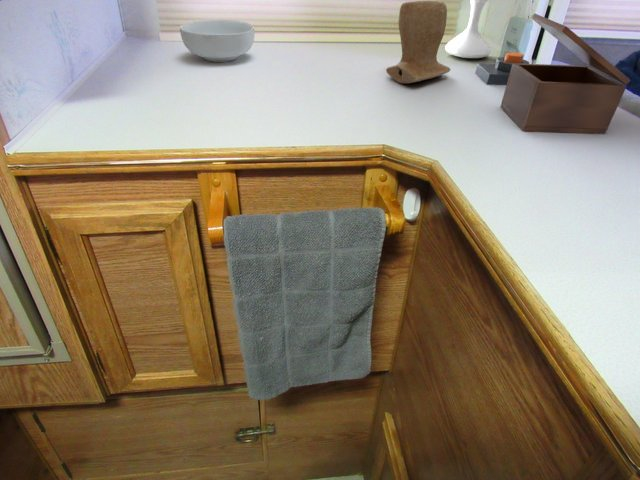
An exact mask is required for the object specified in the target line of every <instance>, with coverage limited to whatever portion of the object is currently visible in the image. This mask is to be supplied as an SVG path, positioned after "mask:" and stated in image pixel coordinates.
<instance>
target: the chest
mask: <svg viewBox="0 0 640 480" xmlns="http://www.w3.org/2000/svg"><path fill="white" fill-rule="evenodd" d="M627 87H628V85H627V84H624V83H622V82H620V81H618V80H616V79H614V78H612V77H610V76H609V75H607V74H605V73H603V72H601V71H599V70H597V69H595V68H593V67H591V66H589V65H574V64H573V65H571V64H546V63H545V64H541V63H529V64H516V63H513V64H512V68H511V71H510V75H509V78H508V82H507V85H505V89H504V93H503V96H502V100H501V103H500V107H499V108H500V109H502V111H503V112H504V113H505V114H506V115H507V116H508V117H509V118H510V119H511V120H512V121H513V122H514V123H515V124H516V125H517V127H518V128H520V129H521V130H522V131H523V132H535V131H537V132H538V131H540V132H538V133H567V134H569V133H570V134H573V133H574V134H595V133H598V134H599V133H606V134H607V131H608V129H609V127H610V125H611V123H612V120H613V118H614V115H615V114H616V111H617V109H618V106H619V104H620V102H621V101H622V97H623V95H624V94H625V91H626V90H627ZM598 134H597V135H598ZM599 135H600V134H599Z"/></svg>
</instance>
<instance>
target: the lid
mask: <svg viewBox="0 0 640 480" xmlns="http://www.w3.org/2000/svg"><path fill="white" fill-rule="evenodd" d="M530 19H532V20H533V21H534V22H535V23H536V24H537V25H539V26H540V27H541V28H542V29H544V30H545V32H547V33H549V34H550V35H551V36H552V37H554V39H556V40H557V41H559V43H561V44H562V45H564V47H566V48H567V49H569V51H571V52H572V53H573V54H574V55H575V56H577V57H578V58H579V59H581V60H582V62H584V63H586V65H587V66H591V67H592V68H594V69H596V70H598V71H600V72H602V73H604V74H606V75H608V76H609V77H611V78H613V79H615V80H617V81H619V82H621V83H623V84H625V85H628V84H629V83H630V82H631V79H630V78H629V77H628V76H626V75H625V74H624V73H623V72H621V70H619V69H618V68H617V67H615V66H614V65H613V64H612V63H611V62H609V60H608V59H606V58H605V57H604V56H603V55H602V54H601V53H599V52H598V51H597V50H595V49H594V48H593V47H592V46H590V45H589V44H588V43H587V42H586V41H585V40H583V39H582V38H581V37H580V36H579V35H577V33H575V32H574V31H572V29H570V28H569V27H568V26H566V25H564V24H562V23H559V22H556V21H554V20H551V19H550V18H547V17H544V16H542V15H540V14H537V13H533V14H532V16H531V17H530Z"/></svg>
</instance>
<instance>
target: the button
mask: <svg viewBox="0 0 640 480" xmlns="http://www.w3.org/2000/svg"><path fill="white" fill-rule="evenodd" d="M504 57H505V59H504V61H505V62H509V63H522V60H524V54H523V53H522V52H521V53H520V52H513V51H508V52H506V53H505V56H504Z"/></svg>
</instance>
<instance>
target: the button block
mask: <svg viewBox="0 0 640 480" xmlns="http://www.w3.org/2000/svg"><path fill="white" fill-rule="evenodd" d="M504 59H505V56H501V57H498V58H497V59H496V61H495V63H479V62H478V63H477V64H476V67H475V72H474V73H475V75H476V76H478V77H479V79H480V80H481V81H482V82H484V83H485V85H487V86H506V85H507V82H508V78H509V75H510V71H511V68H512V64H513V63H509V62H505V61H504ZM516 64H530V62H529V61H528V60H527V59H523V60H522V63H516Z"/></svg>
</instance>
